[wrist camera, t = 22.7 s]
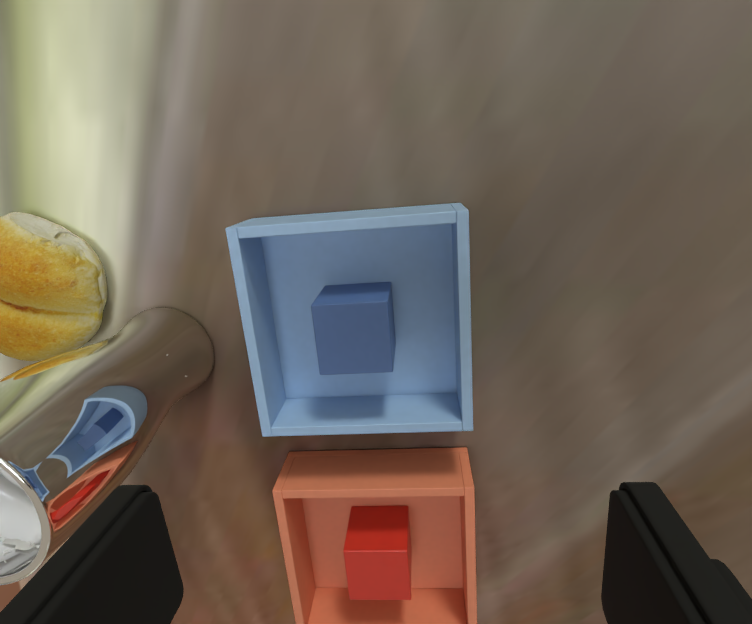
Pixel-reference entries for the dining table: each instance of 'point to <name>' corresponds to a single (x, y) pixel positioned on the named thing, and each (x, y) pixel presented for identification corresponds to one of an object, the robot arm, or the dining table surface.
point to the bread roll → (47, 288)
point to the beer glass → (87, 428)
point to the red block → (378, 553)
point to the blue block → (354, 328)
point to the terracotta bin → (379, 488)
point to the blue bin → (353, 266)
